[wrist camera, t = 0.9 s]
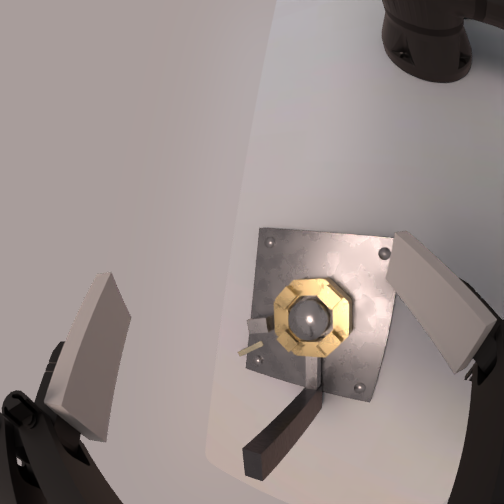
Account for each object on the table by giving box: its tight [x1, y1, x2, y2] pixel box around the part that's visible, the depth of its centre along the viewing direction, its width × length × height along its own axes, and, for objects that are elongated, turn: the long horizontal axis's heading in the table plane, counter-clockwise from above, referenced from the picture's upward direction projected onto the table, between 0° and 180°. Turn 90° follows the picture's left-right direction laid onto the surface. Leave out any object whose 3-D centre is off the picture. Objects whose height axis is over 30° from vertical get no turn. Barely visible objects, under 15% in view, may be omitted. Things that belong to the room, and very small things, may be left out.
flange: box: [238, 228, 396, 402], centre depth 34 cm, size 22×22×4 cm
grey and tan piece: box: [242, 278, 352, 481], centre depth 27 cm, size 19×10×17 cm, turn 3°
